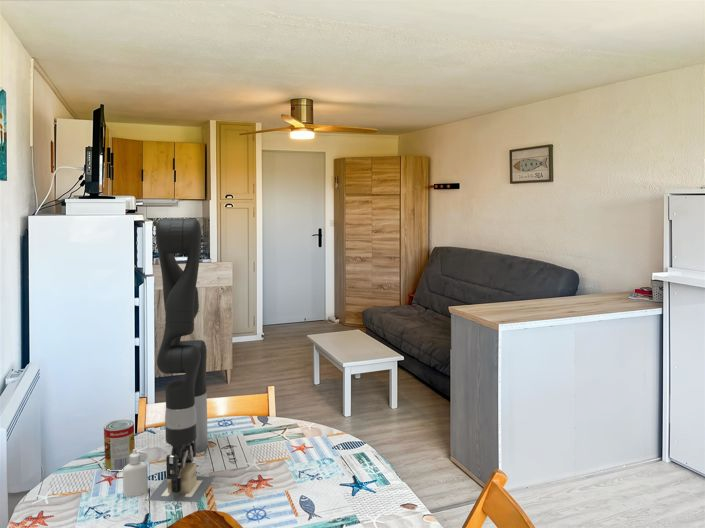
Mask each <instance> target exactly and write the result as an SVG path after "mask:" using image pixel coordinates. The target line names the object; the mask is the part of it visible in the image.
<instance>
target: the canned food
mask: <svg viewBox="0 0 705 528" xmlns="http://www.w3.org/2000/svg"><path fill="white" fill-rule="evenodd" d="M103 438H104V440H103V442H104V445H103V446H104V464H105V465H104V468H105V467H106V468H107V469H110V470H122V469H123V468H124V467H125V466H126V465H128V464H130V454H132V453H133V449H136V448H135V447H136V446H135V422H134V421H133V420H131V419H125V418H124V419H116V420H112V421H109V422H106V423H105V424H104V425H103Z"/></svg>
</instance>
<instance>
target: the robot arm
mask: <svg viewBox="0 0 705 528" xmlns="http://www.w3.org/2000/svg"><path fill="white" fill-rule="evenodd" d="M200 224H201V223H200V221H199V220H198V219H196V218H180V217H179V218H178V217H164V218H160V219H158V220H157V222H156V225H155V243H156V250H157V253H158V261H159V264H160V265H159V266H160V270H161V277H162V278H161V280H162V292H163V293H162V294H163V295H162V296H163V304H164V307H163V308H164V313H165V316H164V317H165V318H164V319H165V321H164V322H165V323H164V332H163V336H162V341H161V344H160V347H159V349H158V353H157V357H156V366H157V368H158V370H159V371H160V372H161V373H162V374H166V375H167V374H185V377H184V378H182V379H178V380H174V381H172V382H171V381H170V382H169V383H168V384H167V385H166V386H165V415H164V422H165V423H164V425H165V442H166V443H167V444H168V445H170V446H171V447H172V448H171V452H170V454H167V455H166V458H165V459H166V460H165V461H166V463H165V464H166V477H167V479H171V487H172V492H174V493H179V492H180V491H181V473H182V469H184V467H185V463H194V458H195V457H196V456H197V454H198V453H201V452H203V451H206V449H207V448H208V447H209V444H208V443H209V441H208V438H209V437H208V433H209V432H208V431H209V430H208V403H207V402H208V400H207V399H208V397H207V394H208V393H207V391H208V390H207V358H208V357H207V351H208V350H207V344H206V342H205V341H204V339H203V340H202V339H195V340H191V339H190V340H181V338H182V337H185V336H190V335H191V334H193V333H194V332H195V331H194V330H195V318H196V317H197V315H198V313H199V309H200V308H199V307H200V304H199V303H200V302H199V301H200V300H199V290H198V287H197V283H198V281H197V280H198V274H199V266H200V259H201V258H200V257H201V249H202V227H201V225H200ZM174 255H187V257H186V262H185V267H184V269H182V268H181V266H180V265H179V263H178V262H177V261H176V258H175V256H174ZM178 463H181V464H180V465H178ZM178 469H179V470H178ZM170 470H171V472H170Z"/></svg>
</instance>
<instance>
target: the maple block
mask: <svg viewBox="0 0 705 528" xmlns="http://www.w3.org/2000/svg"><path fill="white" fill-rule="evenodd" d="M180 464H181V463H178V465H180ZM178 470H179V469H178ZM170 472H171V470H170ZM196 476H197V463H196V462H192V463H185V467H184V469H182V473H181V491H180V492H179V493H184V494H189V493H190V492H191V490H192V489H193V487H194V486H195V485H196V483H197V480H196ZM167 480H168V493H174V492H172V487H171V479H167Z"/></svg>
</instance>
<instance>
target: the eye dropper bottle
mask: <svg viewBox="0 0 705 528" xmlns="http://www.w3.org/2000/svg"><path fill="white" fill-rule="evenodd" d="M122 477H123V478H122V479H123V480H122V482H123V496H124V498H133V497H139V496H141V495H142V496H143V495H145V494H147V493H148V492H149V483H148V480H149V478H148V465H147V463H146V462H143V461H141V455H140V453H139V452H137V449H136V448H135V449H133V453H132V454H130V464H128V465H126V466H125V467H124V468H123V471H122Z"/></svg>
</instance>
